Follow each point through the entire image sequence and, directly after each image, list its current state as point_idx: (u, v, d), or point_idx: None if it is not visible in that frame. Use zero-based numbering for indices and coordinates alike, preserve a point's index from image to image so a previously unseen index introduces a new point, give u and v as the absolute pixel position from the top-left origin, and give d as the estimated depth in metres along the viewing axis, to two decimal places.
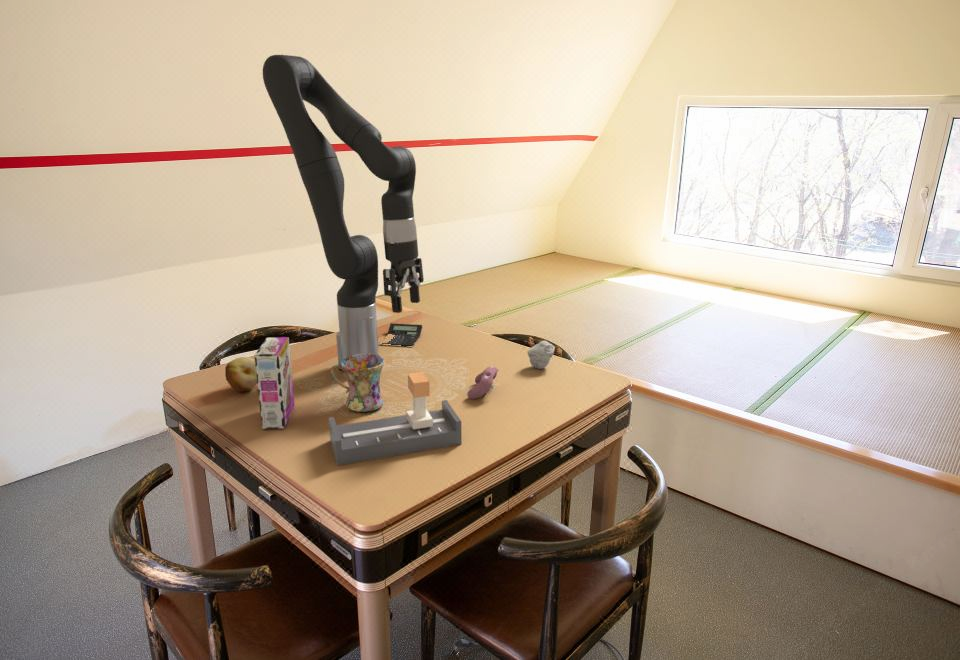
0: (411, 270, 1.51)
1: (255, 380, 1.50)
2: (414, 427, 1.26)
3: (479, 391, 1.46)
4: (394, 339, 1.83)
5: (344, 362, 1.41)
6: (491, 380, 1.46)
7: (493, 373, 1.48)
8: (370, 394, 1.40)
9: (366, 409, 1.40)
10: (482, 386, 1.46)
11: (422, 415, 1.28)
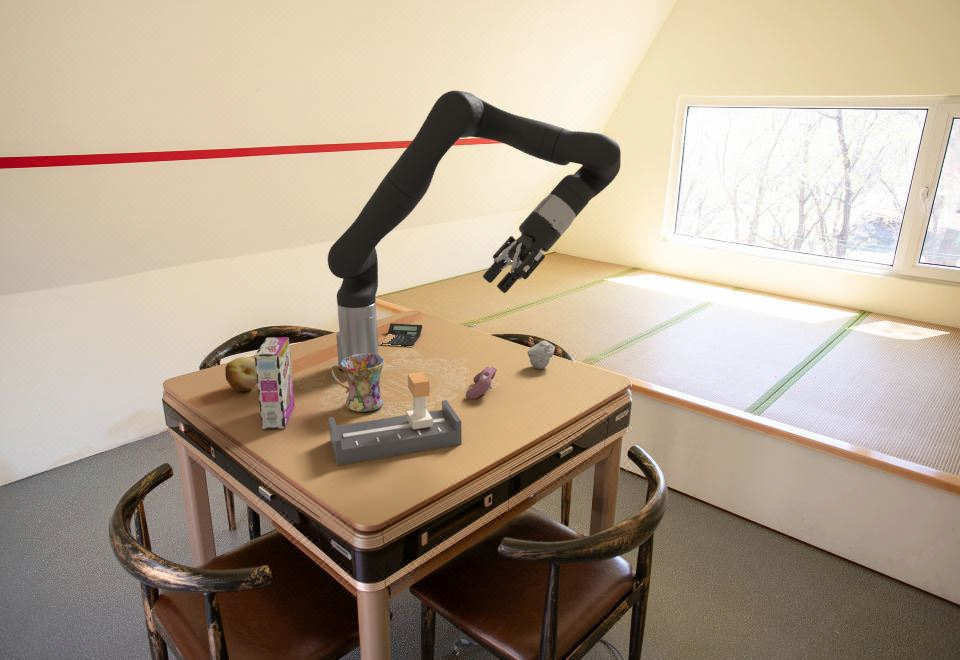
0: None
1: (255, 380, 1.50)
2: (414, 427, 1.26)
3: (477, 391, 1.46)
4: (394, 339, 1.83)
5: (344, 362, 1.41)
6: (489, 380, 1.46)
7: (491, 373, 1.48)
8: (370, 394, 1.40)
9: (366, 409, 1.40)
10: (480, 386, 1.46)
11: (422, 415, 1.28)
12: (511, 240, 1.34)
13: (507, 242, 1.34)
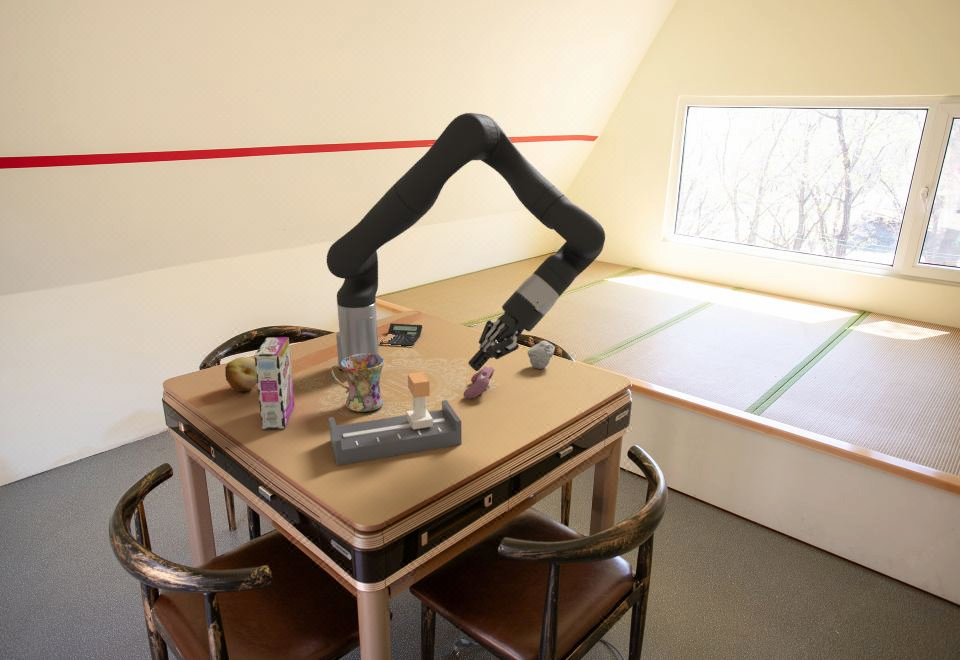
0: None
1: (255, 380, 1.50)
2: (414, 427, 1.26)
3: (475, 390, 1.46)
4: (394, 339, 1.83)
5: (344, 362, 1.41)
6: (487, 380, 1.46)
7: (489, 373, 1.48)
8: (370, 394, 1.40)
9: (366, 409, 1.40)
10: (478, 386, 1.46)
11: (422, 415, 1.28)
12: (490, 323, 1.33)
13: (488, 326, 1.33)
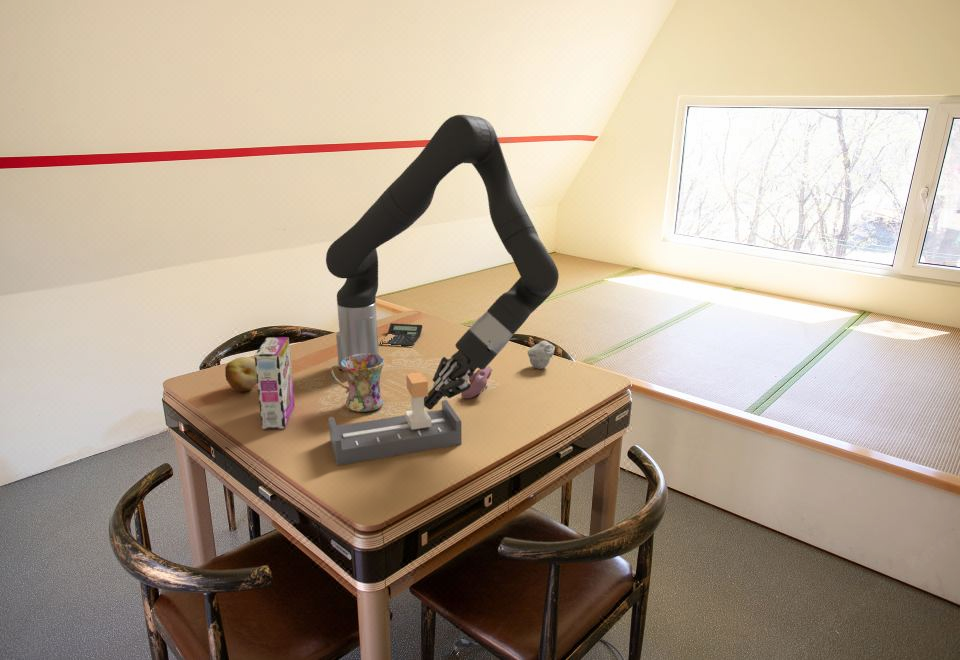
0: None
1: (255, 380, 1.50)
2: (413, 427, 1.26)
3: (473, 390, 1.46)
4: (394, 339, 1.83)
5: (344, 362, 1.41)
6: (485, 380, 1.47)
7: (487, 373, 1.48)
8: (370, 394, 1.40)
9: (366, 409, 1.40)
10: (476, 386, 1.46)
11: (421, 415, 1.28)
12: (445, 360, 1.32)
13: (442, 363, 1.32)
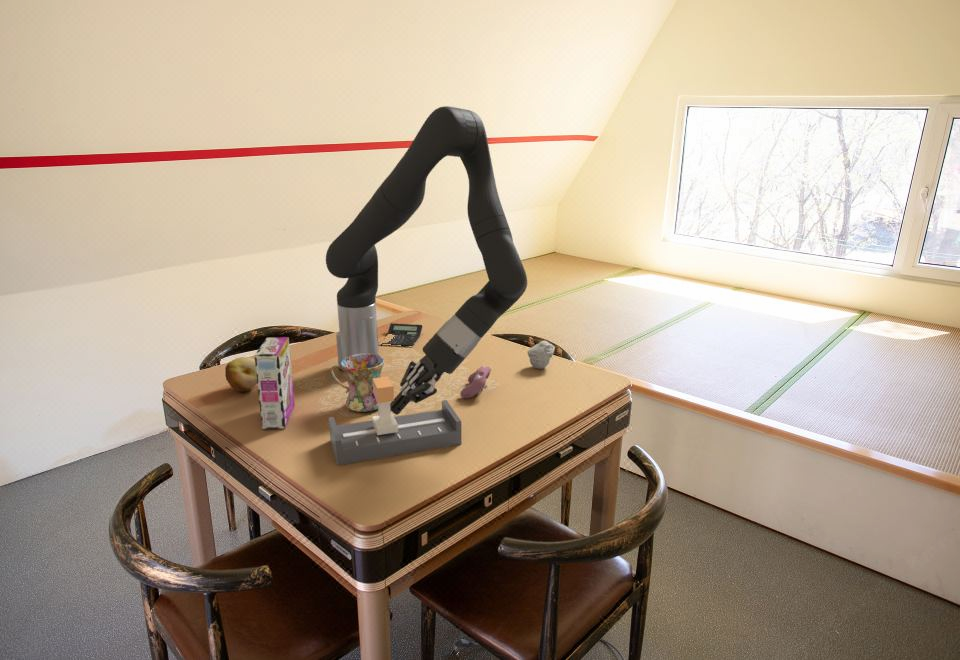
0: None
1: (255, 380, 1.50)
2: (379, 433, 1.24)
3: (472, 390, 1.47)
4: (394, 339, 1.83)
5: (344, 362, 1.41)
6: (484, 379, 1.47)
7: (486, 372, 1.48)
8: (370, 394, 1.40)
9: (366, 409, 1.40)
10: (475, 386, 1.46)
11: (387, 420, 1.26)
12: (413, 364, 1.30)
13: (410, 367, 1.30)
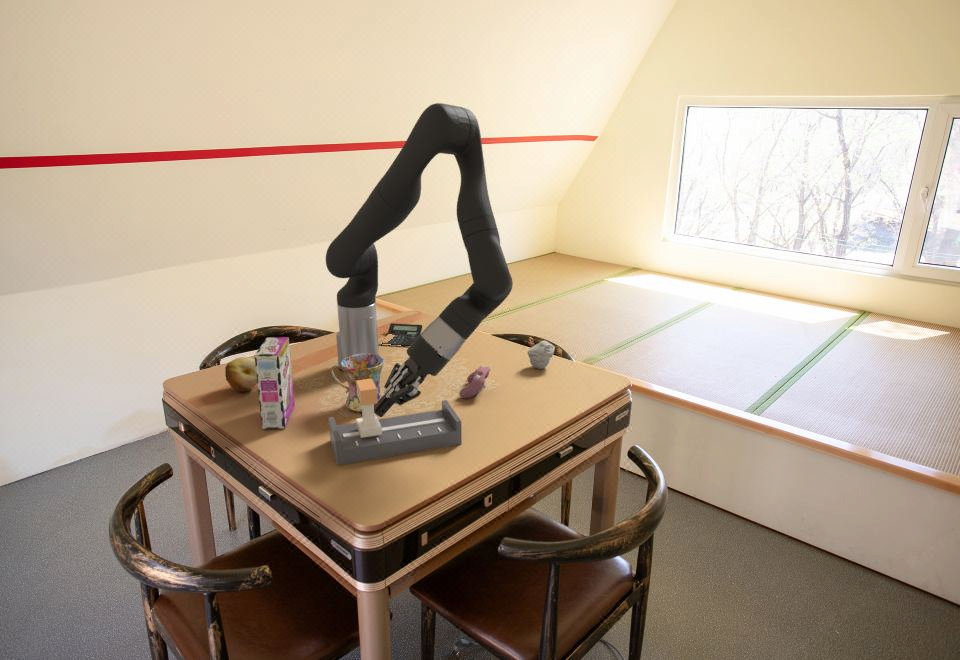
0: None
1: (255, 380, 1.50)
2: (362, 435, 1.23)
3: (471, 390, 1.47)
4: (394, 339, 1.83)
5: (344, 362, 1.41)
6: (483, 379, 1.47)
7: (485, 372, 1.48)
8: None
9: None
10: (474, 386, 1.46)
11: (371, 423, 1.25)
12: (398, 366, 1.29)
13: (395, 369, 1.29)
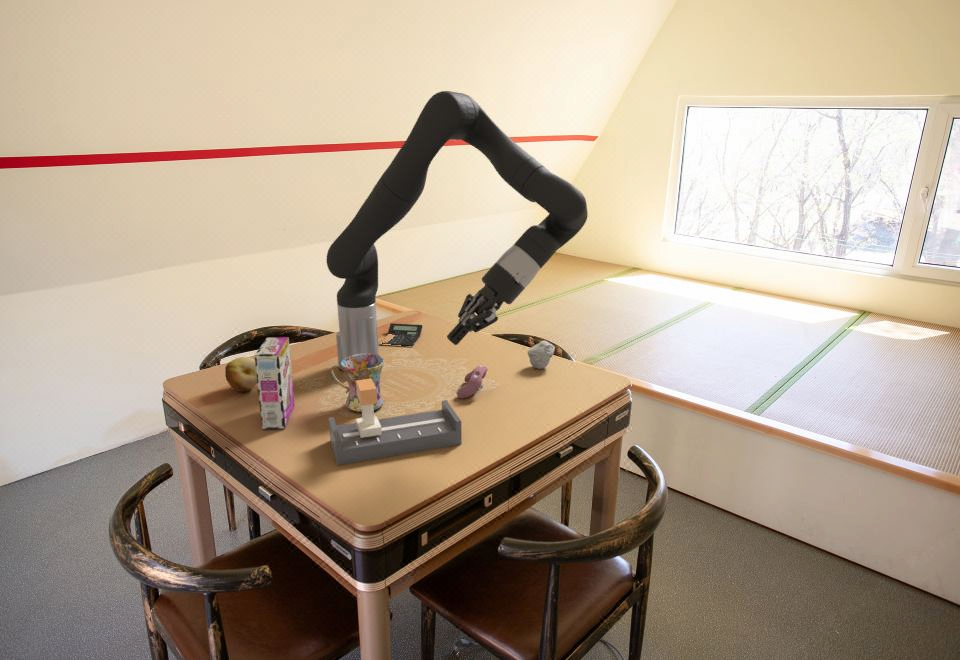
0: None
1: (255, 380, 1.50)
2: (362, 435, 1.23)
3: (468, 390, 1.47)
4: (394, 339, 1.84)
5: (344, 362, 1.41)
6: (480, 379, 1.47)
7: (482, 372, 1.49)
8: None
9: None
10: (471, 386, 1.46)
11: (371, 423, 1.25)
12: (470, 297, 1.30)
13: (467, 299, 1.29)
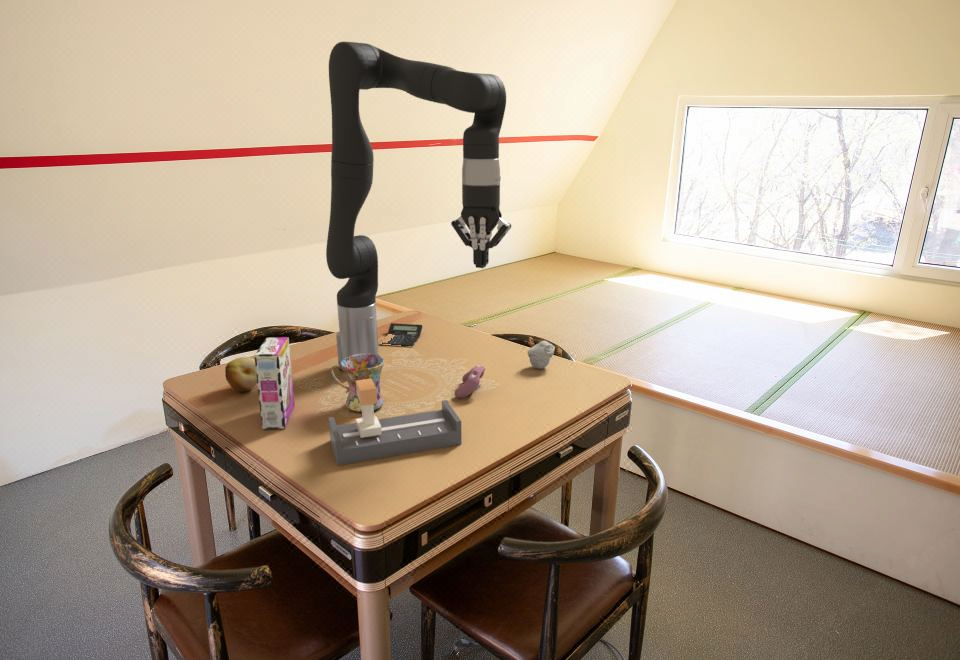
0: None
1: (255, 380, 1.50)
2: (362, 435, 1.23)
3: (466, 390, 1.47)
4: (394, 339, 1.84)
5: (344, 362, 1.41)
6: (478, 379, 1.47)
7: (480, 372, 1.49)
8: None
9: None
10: (469, 385, 1.46)
11: (371, 423, 1.25)
12: (457, 222, 1.34)
13: (458, 226, 1.33)
